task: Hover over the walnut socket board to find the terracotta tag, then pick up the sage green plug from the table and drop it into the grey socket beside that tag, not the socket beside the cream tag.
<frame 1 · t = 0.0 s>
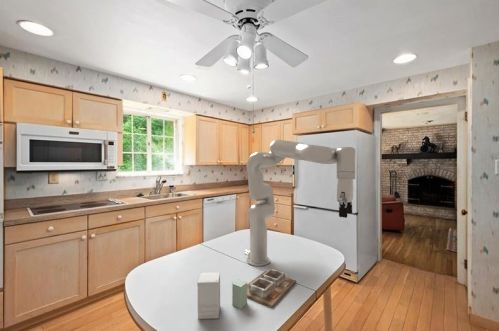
hand: (345, 215, 97), 31 cm above the table, tool pointing down, fingers open, 9 cm apart
socket board: (268, 287, 96), on the table
plug: (239, 304, 85), on the table
supplement box: (209, 312, 80), on the table
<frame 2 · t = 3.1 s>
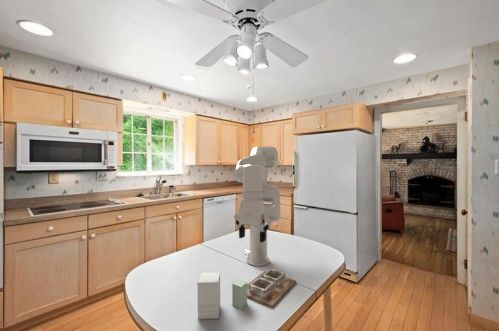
hand: (252, 239, 88), 23 cm above the table, tool pointing down, fingers open, 9 cm apart
nothing on the table moved.
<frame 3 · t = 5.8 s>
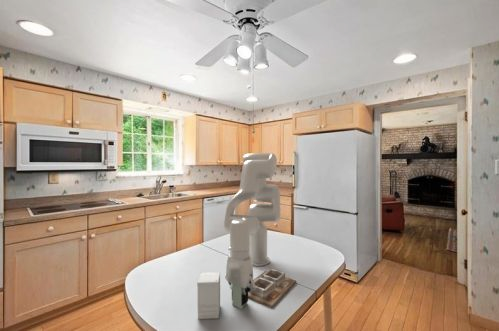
hand: (239, 300, 85), 1 cm above the table, tool pointing down, fingers closed on plug, 4 cm apart
plug: (239, 304, 85), on the table, touching gripper
everything else where it was.
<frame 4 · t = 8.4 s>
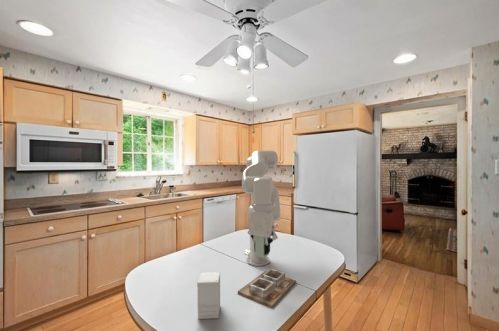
hand: (262, 252, 92), 17 cm above the table, tool pointing down, fingers closed on plug, 4 cm apart
plug: (262, 255, 92), point 16 cm above the table, touching gripper
everything else where it was.
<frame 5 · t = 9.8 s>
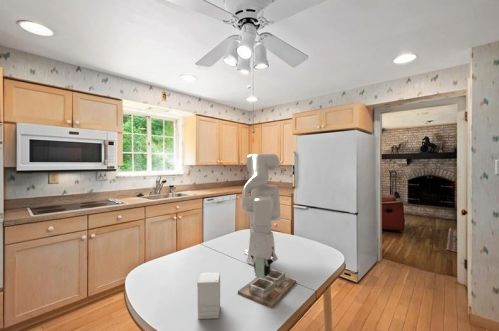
hand: (262, 272, 92), 9 cm above the table, tool pointing down, fingers closed on plug, 4 cm apart
plug: (262, 275, 92), point 7 cm above the table, touching gripper
everything else where it was.
when the fingers open (5 cm above the table, at t = 10.9 s): plug drops 2 cm, resting on socket board.
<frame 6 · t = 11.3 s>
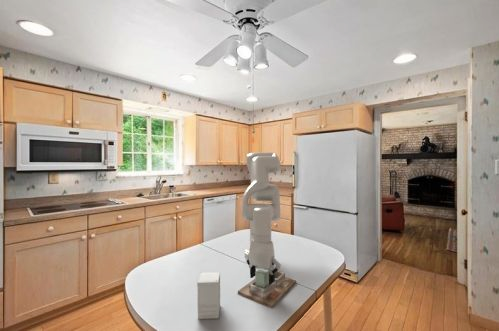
hand: (262, 279, 92), 6 cm above the table, tool pointing down, fingers open, 8 cm apart
plug: (261, 290, 92), point 1 cm above the table, touching socket board
everything else where it was.
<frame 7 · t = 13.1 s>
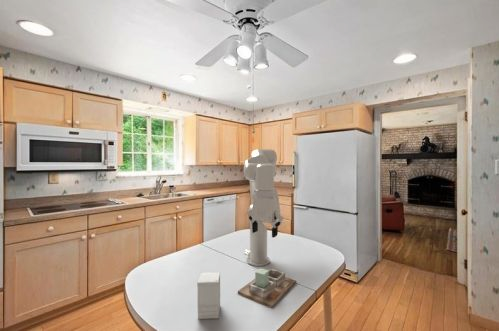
hand: (264, 234, 94), 24 cm above the table, tool pointing down, fingers open, 9 cm apart
nothing on the table moved.
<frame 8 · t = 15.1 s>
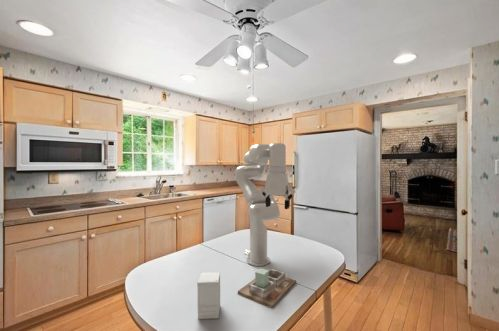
hand: (277, 207, 103), 33 cm above the table, tool pointing down, fingers open, 9 cm apart
nothing on the table moved.
at the end: plug 0.0 cm from the target spot on the socket board, point 1.0 cm above the socket board's base; plug tilted 0°; the gripper is holding nothing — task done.
